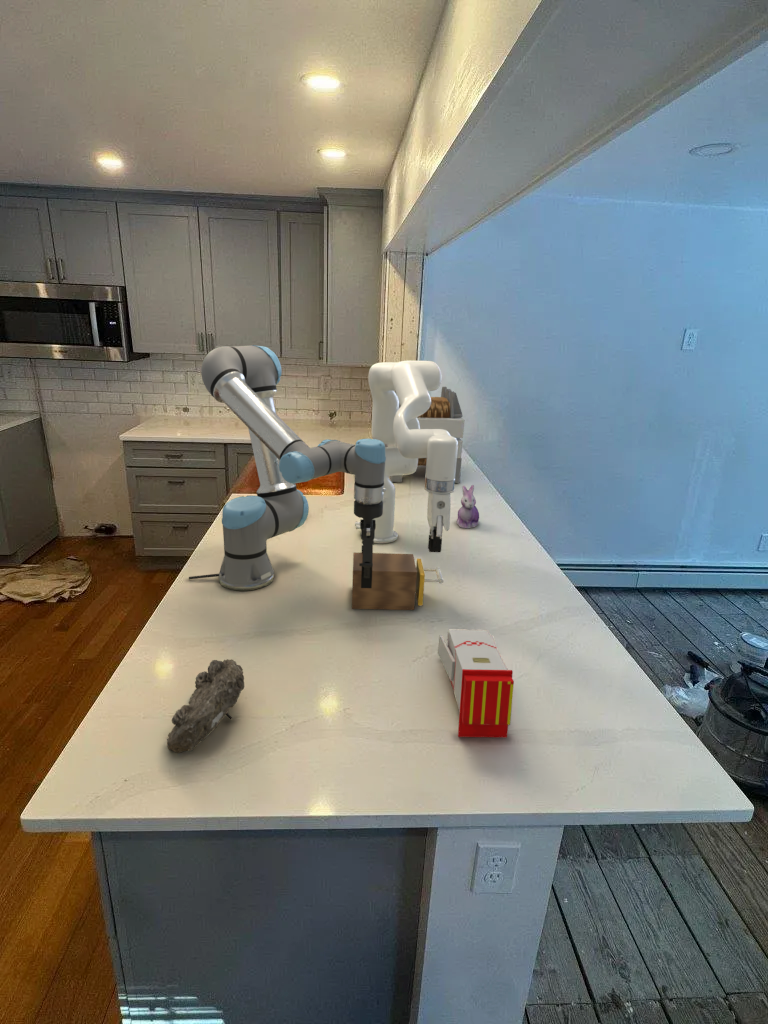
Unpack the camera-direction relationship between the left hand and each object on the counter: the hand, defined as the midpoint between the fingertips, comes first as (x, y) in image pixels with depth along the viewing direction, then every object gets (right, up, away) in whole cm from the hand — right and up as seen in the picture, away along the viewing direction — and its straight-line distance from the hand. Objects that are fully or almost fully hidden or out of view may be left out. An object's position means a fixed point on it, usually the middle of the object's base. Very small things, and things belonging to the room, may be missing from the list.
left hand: (366, 577), depth 152 cm
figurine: (+36, +13, +59) cm, 70 cm away
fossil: (-28, -22, -44) cm, 56 cm away
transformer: (+22, +36, +123) cm, 130 cm away
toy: (+23, -20, -34) cm, 45 cm away
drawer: (+10, -6, +2) cm, 12 cm away
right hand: (+18, +7, -2) cm, 20 cm away
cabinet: (+4, -6, +2) cm, 8 cm away
